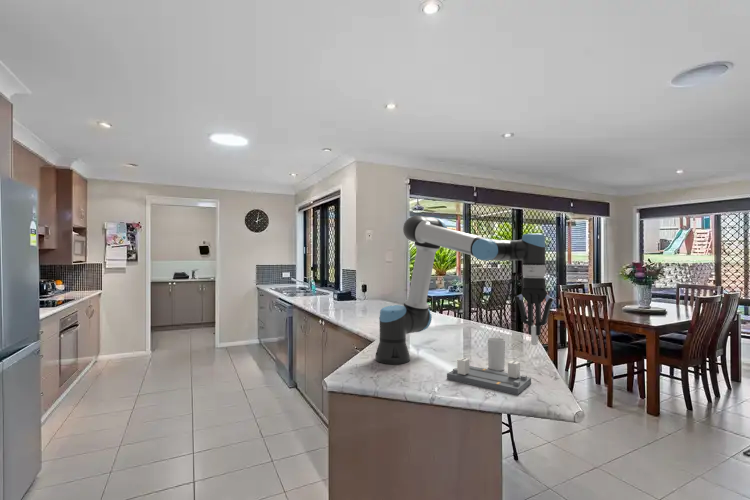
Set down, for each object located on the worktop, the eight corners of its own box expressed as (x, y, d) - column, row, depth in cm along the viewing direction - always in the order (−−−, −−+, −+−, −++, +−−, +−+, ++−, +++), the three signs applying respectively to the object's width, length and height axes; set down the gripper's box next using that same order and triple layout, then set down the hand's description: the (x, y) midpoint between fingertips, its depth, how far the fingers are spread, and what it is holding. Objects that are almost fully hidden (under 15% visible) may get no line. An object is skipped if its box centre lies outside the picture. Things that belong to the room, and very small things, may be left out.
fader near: (457, 373, 140) (457, 359, 140) (462, 370, 143) (462, 357, 143) (464, 374, 138) (464, 360, 138) (469, 372, 141) (469, 358, 141)
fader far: (507, 376, 136) (507, 362, 136) (511, 374, 139) (511, 360, 139) (516, 378, 134) (516, 364, 134) (519, 375, 137) (519, 361, 137)
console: (446, 378, 140) (446, 370, 141) (464, 369, 152) (464, 361, 152) (517, 394, 124) (517, 385, 125) (531, 383, 136) (531, 374, 136)
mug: (505, 371, 150) (505, 341, 150) (487, 370, 152) (487, 340, 152) (504, 365, 160) (504, 336, 160) (488, 363, 162) (488, 335, 162)
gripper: (511, 277, 134) (512, 343, 134) (551, 278, 126) (551, 348, 125) (518, 276, 140) (519, 340, 139) (556, 277, 132) (557, 345, 131)
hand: (534, 344), depth 132 cm, fingers closed
